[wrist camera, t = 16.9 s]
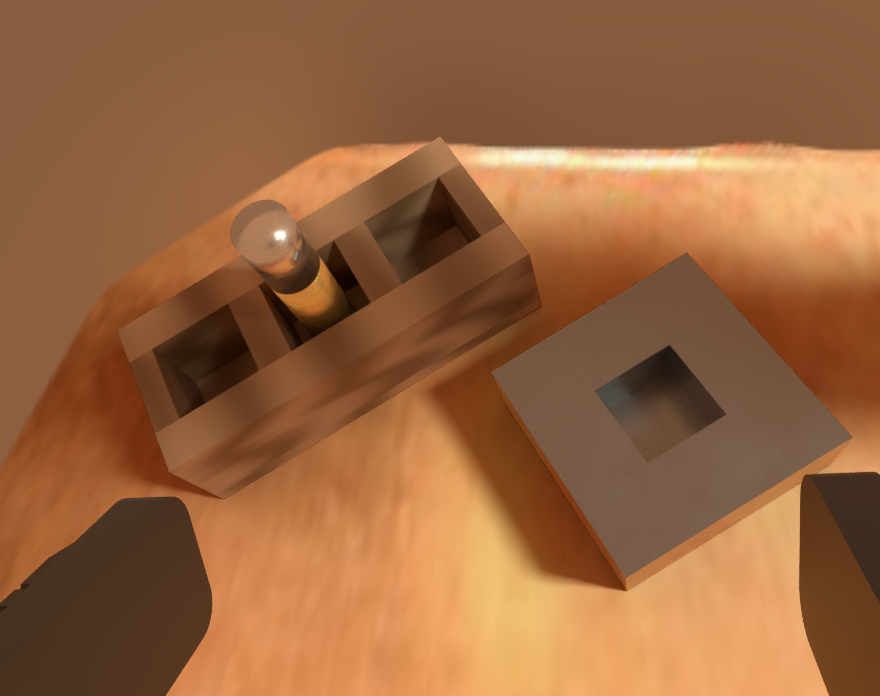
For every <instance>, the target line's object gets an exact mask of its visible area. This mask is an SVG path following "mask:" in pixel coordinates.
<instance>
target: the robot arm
mask: <svg viewBox="0 0 880 696" xmlns="http://www.w3.org/2000/svg"><path fill="white" fill-rule="evenodd" d="M799 592H800V603H801V611H802V617H803V622H804V627H805V631H806V635H807V638H808V641H809V644H810V647H811V649H812V652H813V655H814V657H815V660H816V662H817V665H818V668H819V670H820V673H821V675H822V678H823V681H824V683H825V686H826V688H827V691H828V694H829V696H880V475H879V474H878V473H877V472H855V473H828V474H806V475H805V476H804V477H803V479H802V483H801V493H800V563H799ZM211 613H212V593H211V588H210V584H209V581H208V577H207V574H206V571H205V567H204V564H203V560H202V557H201V554H200V550H199V547H198V543H197V540H196V536H195V533H194V530H193V526H192V523H191V519H190V516H189V513H188V510H187V508H186V506H185V504H184V503H183V502H182V501H181V500H180V499H179V498H177V497H148V498H126V499H122V500H120V501H118V502H117V503H115V504H114V505H113V506H112V507H111V508H110V509H109V510H108V511H107V512H106V513H105V514H104V515H103V516H102V517H101V518H99V519H98V520H97V521H96V522H95V523H94V524H93V525H92V526H91V527H90V528H89V529H88V530H87V531H86V532H85V533H84V534H83V535H82V536H81V537H80V538H78V539H77V540H76V541H75V542H74V543H72V544H71V545H69V546H67V547H66V548H64V549H63V550H61V551H59V552H58V553H56V554H54V555H53V556H51V557H50V558H48V559H47V560H46V561H45V562H44V563H43V564H42V565H41V566H40V567H39V568H38V569H37V570H35V571H34V572H33V573H32V574H31V575H30V576H29V577H28V578H27V579H26V580H25V581H24V582H23V583H22V584H21V588H20V590H14V591H13V592H12V593H11V594H10V595H9V596H8V597H7V598H6V599H5V600H3V601H2V602H1V603H0V696H166V694H167V693H168V691H169V690H170V688H171V687H172V685H173V684H174V682H175V681H176V679H177V678H178V676H179V674H180V673H181V671H182V670H183V668H184V667H185V665H186V664H187V662H188V661H189V659H190V658H191V656H192V655H193V653H194V652H195V650H196V649H197V647H198V645H199V644H200V642H201V641H202V639H203V638H204V636H205V634H206V632H207V629H208V626H209V623H210V619H211Z"/></svg>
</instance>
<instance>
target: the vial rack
mask: <svg viewBox="0 0 880 696" xmlns="http://www.w3.org/2000/svg"><path fill="white" fill-rule="evenodd" d="M296 224H297V225H298V227H299V228H300V230H301V231H302V232H303V234H304V235H305V237H306V238H307V240H308V241H309V242H310V244H311V245H312V247H313V248H314V250H315V251H316V252H317V254H318V255H319V257H320V258H321V260H322V261H323V262H324V264H325V265H326V267H327V268H328V270H329V271H330V273H331V274H332V275H333V277H334V278H335V280H336V281H337V283H338V284H339V285H340V287H341V288H342V290H343V291H344V293H345V294H346V295H347V297H348V298H349V300H350V301H351V303H352V304H353V305H354V307H355V308H356V310H357V312H355V313H354V314H352V315H351V316H349V317H347V318H346V319H344V320H342V321H341V322H339V323H337V324H336V325H334V326H332V327H331V328H329V329H327V330H326V331H324V332H322V333H321V334H319V335H317V336H316V337H313V336H312V335H311V334H310V333H309V331H308V330H307V329H306V328H305V327H304V326H303V325H302V323H301V322H300V321H299V320H298V319H297V318H296V316H295V315H294V314H293V313H292V312H291V311H290V310H289V308H288V307H287V306H286V305H285V304H284V303H283V302H282V300H281V299H280V298H279V297H278V296H277V295H276V293H275V292H274V291H273V290H272V289H271V288H270V287H269V285H268V284H267V283H266V282H265V281H264V280H263V279H262V277H261V276H260V275H259V274H258V273H257V272H256V270H255V269H254V268H253V267H252V266H251V265H250V264H249V262H248V261H247V260H246V259H245V258H244V257H243V256H240V257H239V258H237V259H235V260H234V261H232V262H230V263H229V264H227V265H225V266H224V267H222V268H220V269H219V270H217V271H215V272H214V273H212V274H210V275H209V276H207V277H205V278H204V279H202V280H200V281H199V282H197V283H195V284H194V285H192V286H190V287H189V288H187V289H185V290H184V291H182V292H180V293H179V294H177V295H175V296H174V297H172V298H170V299H169V300H167V301H165V302H164V303H162V304H160V305H159V306H157V307H155V308H154V309H152V310H150V311H149V312H147V313H145V314H144V315H142V316H140V317H139V318H137V319H135V320H133V321H132V322H130V323H128V324H127V325H125V326H123V327H122V328H120V329H118V330H117V332H118V334H119V337H120V340H121V342H122V345H123V348H124V351H125V353H126V356H127V359H128V362H129V364H130V367H131V370H132V372H133V375H134V378H135V381H136V383H137V386H138V389H139V392H140V394H141V397H142V400H143V402H144V405H145V408H146V411H147V413H148V416H149V419H150V422H151V424H152V427H153V430H154V432H155V435H156V438H157V441H158V443H159V446H160V449H161V451H162V454H163V457H164V460H165V462H166V465H167V468H168V471H169V472H170V473H172V474H174V475H176V476H178V477H180V478H182V479H184V480H186V481H188V482H190V483H192V484H194V485H196V486H198V487H200V488H202V489H204V490H206V491H208V492H210V493H212V494H214V495H216V496H218V497H220V498H222V499H226V498H227V497H229V496H230V495H232V494H234V493H235V492H237V491H239V490H240V489H242V488H244V487H245V486H247V485H249V484H250V483H252V482H253V481H255V480H257V479H258V478H260V477H262V476H263V475H265V474H267V473H268V472H270V471H272V470H273V469H275V468H276V467H278V466H280V465H281V464H283V463H285V462H286V461H288V460H290V459H291V458H293V457H295V456H296V455H298V454H299V453H301V452H303V451H304V450H306V449H308V448H309V447H311V446H313V445H314V444H316V443H318V442H319V441H321V440H322V439H324V438H326V437H327V436H329V435H331V434H332V433H334V432H336V431H337V430H339V429H341V428H342V427H344V426H345V425H347V424H349V423H350V422H352V421H354V420H355V419H357V418H359V417H360V416H362V415H364V414H365V413H367V412H368V411H370V410H372V409H373V408H375V407H377V406H378V405H380V404H382V403H383V402H385V401H387V400H388V399H390V398H391V397H393V396H395V395H396V394H398V393H400V392H401V391H403V390H405V389H406V388H408V387H410V386H411V385H413V384H414V383H416V382H418V381H419V380H421V379H423V378H424V377H426V376H428V375H429V374H431V373H433V372H434V371H436V370H437V369H439V368H441V367H442V366H444V365H446V364H447V363H449V362H451V361H452V360H454V359H456V358H457V357H459V356H460V355H462V354H464V353H465V352H467V351H469V350H470V349H472V348H474V347H475V346H477V345H479V344H480V343H482V342H483V341H485V340H487V339H488V338H490V337H492V336H493V335H495V334H497V333H498V332H500V331H502V330H503V329H505V328H506V327H508V326H510V325H511V324H513V323H515V322H516V321H518V320H520V319H521V318H523V317H525V316H526V315H528V314H529V313H531V312H533V311H534V310H536V309H538V308H539V307H541V302H540V298H539V294H538V290H537V285H536V281H535V277H534V272H533V268H532V264H531V259H530V255H529V253H528V252H527V250H526V249H525V248H524V246H523V245H522V244H521V242H520V241H519V240H518V238H517V237H516V236H515V234H514V233H513V232H512V231H511V229H510V228H509V227H508V225H507V224H506V223H505V221H504V220H503V219H502V217H501V216H500V215H499V213H498V212H497V211H496V209H495V208H494V207H493V205H492V204H491V203H490V201H489V200H488V199H487V198H486V196H485V195H484V194H483V192H482V191H481V190H480V188H479V187H478V186H477V184H476V183H475V182H474V180H473V179H472V178H471V176H470V175H469V174H468V172H467V171H466V170H465V169H464V167H463V166H462V165H461V163H460V162H459V161H458V159H457V158H456V157H455V155H454V154H453V153H452V151H451V150H450V149H449V147H448V146H447V145H446V143H445V142H444V141H443V139H442V138H441V137H439V138H437V139H435V140H434V141H432V142H430V143H429V144H427V145H425V146H424V147H422V148H420V149H419V150H417V151H415V152H414V153H412V154H410V155H409V156H407V157H405V158H404V159H402V160H400V161H399V162H397V163H395V164H394V165H392V166H390V167H389V168H387V169H385V170H384V171H382V172H380V173H379V174H377V175H375V176H374V177H372V178H370V179H369V180H367V181H365V182H364V183H362V184H360V185H359V186H357V187H355V188H354V189H352V190H350V191H349V192H347V193H345V194H344V195H342V196H340V197H339V198H337V199H335V200H334V201H332V202H330V203H329V204H327V205H325V206H324V207H322V208H320V209H319V210H317V211H315V212H314V213H312V214H310V215H309V216H307V217H305V218H304V219H302V220H300V221H299V222H297V223H296Z"/></svg>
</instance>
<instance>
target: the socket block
mask: <svg viewBox="0 0 880 696" xmlns="http://www.w3.org/2000/svg"><path fill="white" fill-rule="evenodd" d="M491 373H492V375H493V378H494V380H495V382H496V385H497V387H498V389H499V392H500V394H501V396H502V399H503V401H504V403H505V405H506V406H507V408H508V409H509V411H510V412H511V414H512V415H513V417H514V418H515V420H516V421H517V423H518V425H519V426H520V428H521V429H522V431H523V432H524V434H525V435H526V437H527V438H528V440H529V441H530V443H531V445H532V446H533V448H534V449H535V451H536V452H537V454H538V455H539V457H540V458H541V460H542V461H543V463H544V465H545V466H546V468H547V469H548V471H549V472H550V474H551V475H552V477H553V478H554V480H555V481H556V483H557V485H558V486H559V488H560V489H561V491H562V492H563V494H564V495H565V497H566V498H567V500H568V501H569V503H570V505H571V506H572V508H573V509H574V511H575V512H576V514H577V515H578V517H579V518H580V520H581V521H582V523H583V525H584V526H585V528H586V529H587V531H588V532H589V534H590V535H591V537H592V538H593V540H594V541H595V543H596V545H597V546H598V548H599V549H600V551H601V552H602V554H603V555H604V557H605V558H606V560H607V561H608V563H609V565H610V566H611V568H612V569H613V571H614V572H615V574H616V575H617V577H618V578H619V580H620V581H621V583H622V585H623V586H624V588H625V589H626V591H628V590H630V589H631V588H633V587H634V586H636V585H638V584H639V583H641V582H642V581H644V580H646V579H647V578H649V577H650V576H652V575H654V574H655V573H657V572H659V571H660V570H662V569H663V568H665V567H667V566H668V565H670V564H671V563H673V562H675V561H676V560H678V559H679V558H681V557H683V556H684V555H686V554H687V553H689V552H691V551H692V550H694V549H695V548H697V547H699V546H700V545H702V544H704V543H705V542H707V541H708V540H710V539H712V538H713V537H715V536H716V535H718V534H720V533H721V532H723V531H724V530H726V529H728V528H729V527H731V526H732V525H734V524H736V523H737V522H739V521H741V520H742V519H744V518H745V517H747V516H749V515H750V514H752V513H753V512H755V511H757V510H758V509H760V508H761V507H763V506H765V505H766V504H768V503H769V502H771V501H773V500H774V499H776V498H778V497H779V496H781V495H782V494H784V493H786V492H787V491H789V490H790V489H792V488H794V487H795V486H797V485H798V484H800V483H802V479H803V477H804V476H805V475H806V474H816V473H818V472H819V471H821V470H823V469H824V468H826V467H827V466H829V465H830V464H831V463H832V462H833V461H834V459H835V458H836V457H837V456H838V455H839V453H840V452H841V451H842V450H843V448H844V447H845V446H846V445H847V444H848V442H849V441H850V440H851V439H852V436H851V435H850V433H849V432H848V431H847V430H846V429H845V428H844V427H843V426H842V425H841V423H840V422H839V421H838V420H837V419H836V418H835V417H834V416H833V415H832V413H831V412H830V411H829V410H828V409H827V408H826V407H825V406H824V405H823V403H822V402H821V401H820V400H819V399H818V398H817V397H816V396H815V395H814V393H813V392H812V391H811V390H810V389H809V388H808V387H807V386H806V385H805V383H804V382H803V381H802V380H801V379H800V378H799V377H798V376H797V375H796V373H795V372H794V371H793V370H792V369H791V368H790V367H789V366H788V365H787V363H786V362H785V361H784V360H783V359H782V358H781V357H780V356H779V355H778V353H777V352H776V351H775V350H774V349H773V348H772V347H771V346H770V344H769V343H768V342H767V341H766V340H765V339H764V338H763V337H762V336H761V334H760V333H759V332H758V331H757V330H756V329H755V328H754V327H753V326H752V324H751V323H750V322H749V321H748V320H747V319H746V318H745V317H744V316H743V314H742V313H741V312H740V311H739V310H738V309H737V308H736V307H735V306H734V304H733V303H732V302H731V301H730V300H729V299H728V298H727V297H726V296H725V294H724V293H723V292H722V291H721V290H720V289H719V288H718V287H717V286H716V284H715V283H714V282H713V281H712V280H711V279H710V278H709V277H708V276H707V274H706V273H705V272H704V271H703V270H702V269H701V268H700V267H699V266H698V264H697V263H696V262H695V261H694V260H693V259H692V258H691V257H690V255H689V254H688V253H685V254H684V255H682V256H680V257H679V258H677V259H675V260H674V261H672V262H671V263H669V264H667V265H666V266H664V267H662V268H661V269H659V270H657V271H656V272H654V273H653V274H651V275H649V276H648V277H646V278H644V279H643V280H641V281H639V282H638V283H636V284H634V285H633V286H631V287H630V288H628V289H626V290H625V291H623V292H621V293H620V294H618V295H616V296H615V297H613V298H612V299H610V300H608V301H607V302H605V303H603V304H602V305H600V306H598V307H597V308H595V309H594V310H592V311H590V312H589V313H587V314H585V315H584V316H582V317H580V318H579V319H577V320H575V321H574V322H572V323H571V324H569V325H567V326H566V327H564V328H562V329H561V330H559V331H557V332H556V333H554V334H553V335H551V336H549V337H548V338H546V339H544V340H543V341H541V342H539V343H538V344H536V345H535V346H533V347H531V348H530V349H528V350H526V351H525V352H523V353H521V354H520V355H518V356H516V357H515V358H513V359H512V360H510V361H508V362H507V363H505V364H503V365H502V366H500V367H498V368H497V369H495V370H494V371H492V372H491Z"/></svg>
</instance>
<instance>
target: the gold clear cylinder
mask: <svg viewBox="0 0 880 696" xmlns="http://www.w3.org/2000/svg"><path fill="white" fill-rule="evenodd" d="M230 238H231V241H232V243H233V245H234V246H235V247H236V249H237V250H238V251H239V252H240V253H241V254H242V256H243V257H244V258H245V259H246V260H247V261H248V262H249V264H250V265H251V266H252V267H253V268H254V269H255V270H256V272H257V273H258V274H259V275H260V276H261V277H262V279H263V280H264V281H265V282H266V283H267V284H268V285H269V287H270V288H271V289H272V290H273V291H274V292H275V293H276V295H277V296H278V297H279V298H280V299H281V300H282V302H283V303H284V304H285V305H286V306H287V307H288V308H289V310H290V311H291V312H292V313H293V314H294V315H295V316H296V318H297V319H298V320H299V321H300V322H301V323H302V325H303V326H304V327H305V328H306V329H307V330H308V331H309V333H310V334H311V335H312V336H313V337H316V336H317V335H319V334H321V333H322V332H324V331H326V330H327V329H329V328H331V327H332V326H334V325H336V324H337V323H339V322H341V321H342V320H344V319H346V318H347V317H349V316H351V315H352V314H354V313H355V312H357V310H356V308H355V307H354V305H353V304H352V303H351V301H350V300H349V298H348V297H347V295H346V294H345V293H344V291H343V290H342V288H341V287H340V285H339V284H338V283H337V281H336V280H335V278H334V277H333V275H332V274H331V273H330V271H329V270H328V268H327V267H326V265H325V264H324V262H323V261H322V260H321V258H320V257H319V255H318V254H317V252H316V251H315V250H314V248H313V247H312V245H311V244H310V242H309V241H308V240H307V238H306V237H305V235H304V234H303V232H302V231H301V230H300V228H299V227H298V225H297V224H296V222H295V221H294V220H293V218H292V217H291V215H290V214H289V212H288V211H287V210H286V208H285V207H284V206H283V205H282V204H280V203H279V202H276V201H273V200H261V201H257V202H254V203H252V204H250V205H248V206H247V207H245V208H244V209H243V210H241V211H240V212H239V214H238V215H237V216H236V217H235V219H234V221H233V223H232V226H231V229H230Z"/></svg>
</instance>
